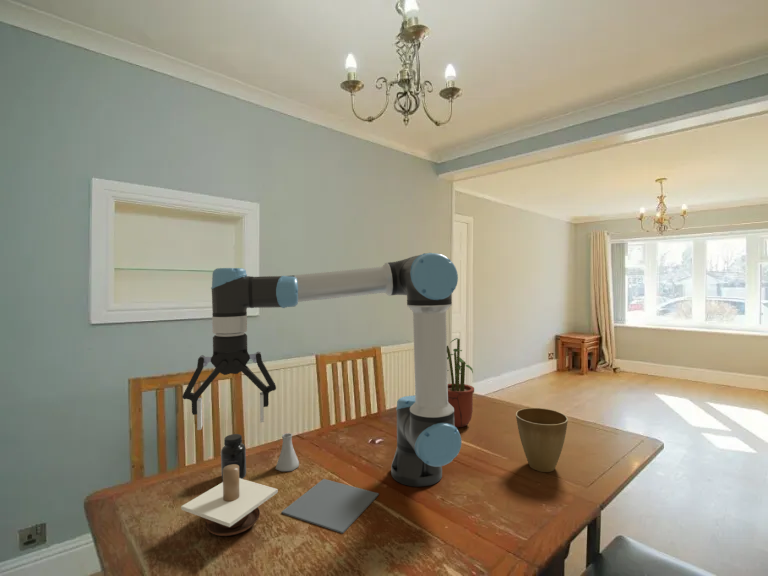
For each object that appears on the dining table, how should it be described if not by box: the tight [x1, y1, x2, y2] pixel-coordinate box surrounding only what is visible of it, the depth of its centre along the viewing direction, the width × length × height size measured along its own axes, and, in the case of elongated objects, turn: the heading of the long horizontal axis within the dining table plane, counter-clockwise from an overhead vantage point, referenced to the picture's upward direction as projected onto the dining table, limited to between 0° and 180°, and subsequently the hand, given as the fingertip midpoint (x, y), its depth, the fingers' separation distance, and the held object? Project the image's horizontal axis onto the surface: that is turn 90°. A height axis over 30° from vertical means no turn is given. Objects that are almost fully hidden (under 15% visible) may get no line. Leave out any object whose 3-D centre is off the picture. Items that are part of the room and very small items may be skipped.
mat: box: [281, 478, 380, 534], centre depth 101 cm, size 18×18×1 cm
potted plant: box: [447, 337, 475, 428], centre depth 158 cm, size 17×16×35 cm
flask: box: [275, 432, 300, 472], centre depth 122 cm, size 7×7×10 cm
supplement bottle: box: [220, 433, 247, 481], centre depth 115 cm, size 7×7×12 cm
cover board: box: [180, 464, 279, 527], centre depth 92 cm, size 15×15×8 cm
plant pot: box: [515, 407, 569, 473], centre depth 121 cm, size 15×15×16 cm
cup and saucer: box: [204, 506, 261, 537], centre depth 93 cm, size 12×12×6 cm
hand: (231, 424), depth 92 cm, fingers open, 13 cm apart
